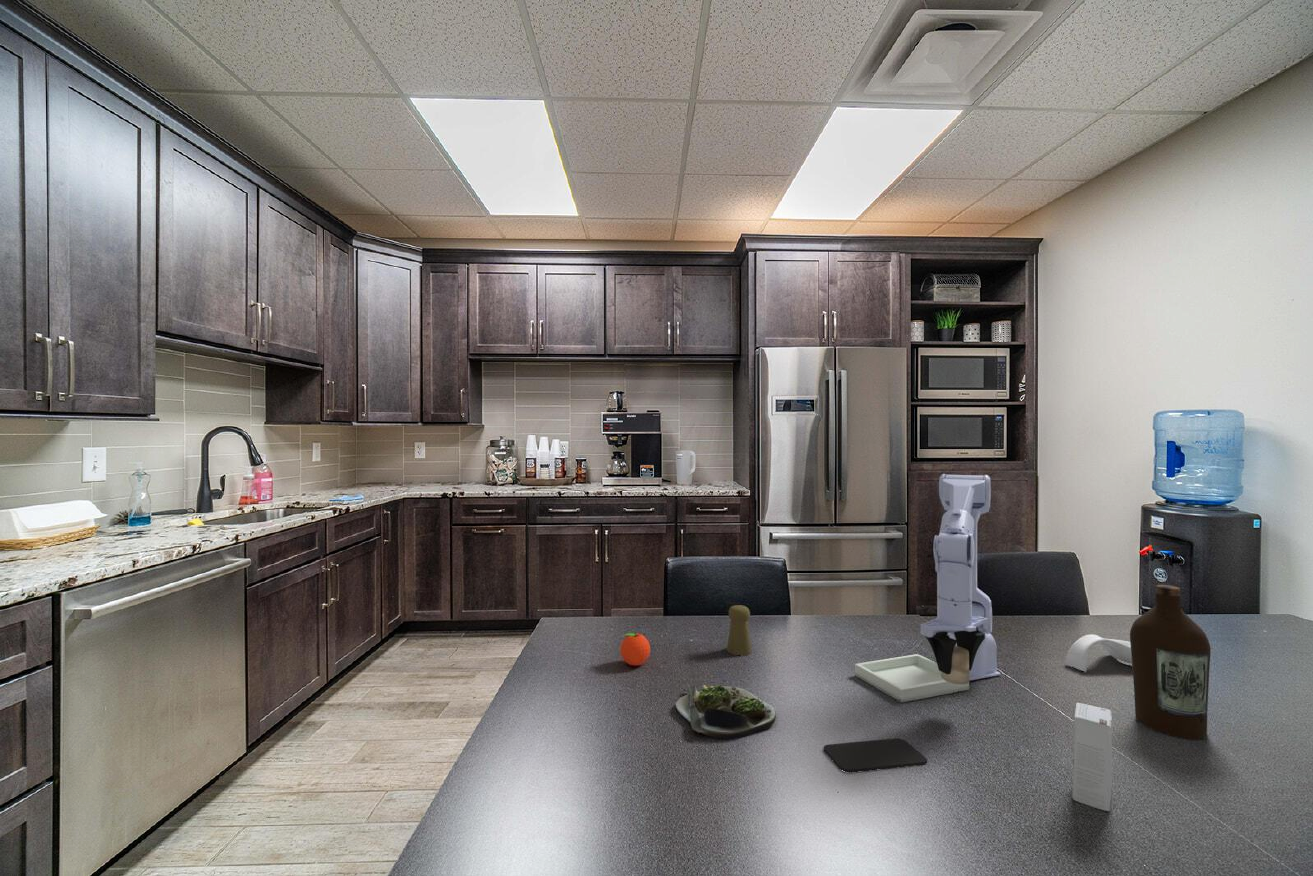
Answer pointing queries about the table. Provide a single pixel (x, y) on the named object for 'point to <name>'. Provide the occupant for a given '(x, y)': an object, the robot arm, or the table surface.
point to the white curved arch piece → (1083, 645)
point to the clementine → (635, 649)
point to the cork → (739, 631)
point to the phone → (874, 755)
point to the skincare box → (1092, 756)
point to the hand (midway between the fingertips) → (954, 670)
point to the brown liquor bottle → (1170, 668)
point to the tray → (907, 677)
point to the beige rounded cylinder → (958, 667)
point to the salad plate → (725, 711)
